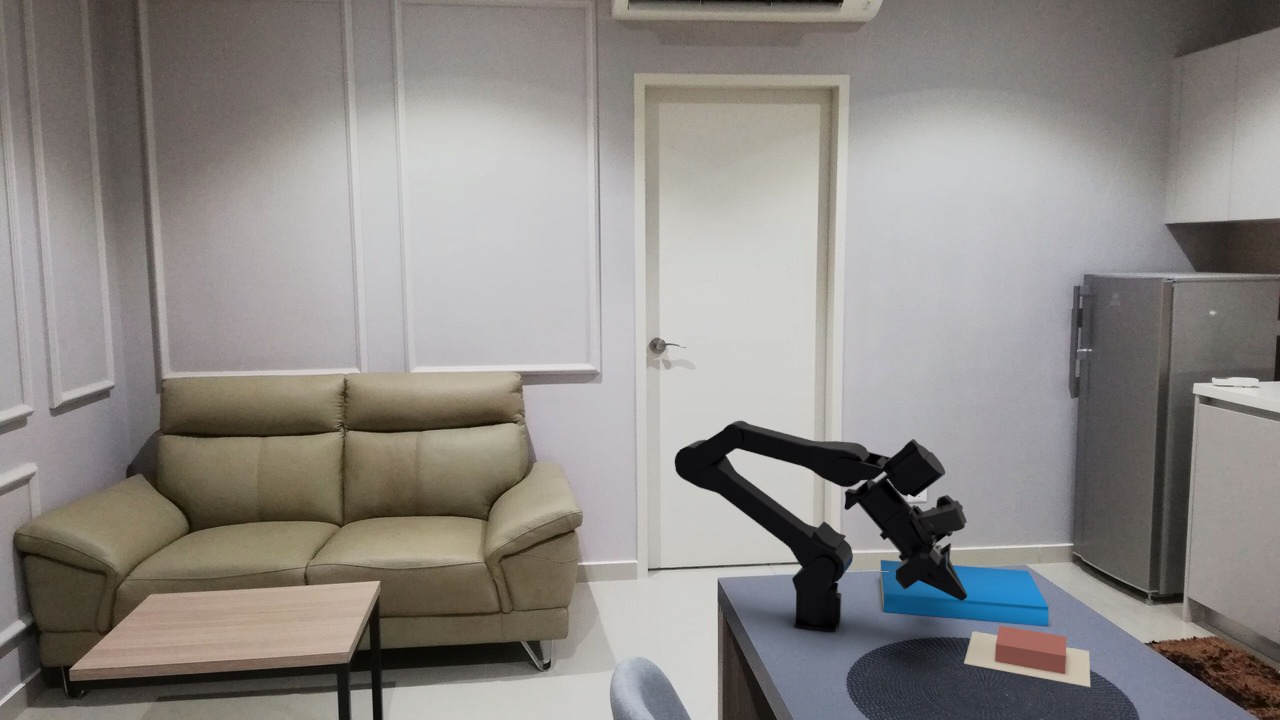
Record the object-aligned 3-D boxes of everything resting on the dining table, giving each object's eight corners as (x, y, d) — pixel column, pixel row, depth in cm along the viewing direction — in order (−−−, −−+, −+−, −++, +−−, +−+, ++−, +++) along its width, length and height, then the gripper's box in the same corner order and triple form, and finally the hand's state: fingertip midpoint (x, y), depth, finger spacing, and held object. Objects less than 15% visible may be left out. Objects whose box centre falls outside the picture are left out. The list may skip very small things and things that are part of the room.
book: (879, 559, 160) (1028, 568, 155) (878, 583, 161) (1027, 592, 155) (883, 595, 144) (1050, 605, 138) (883, 620, 144) (1049, 632, 139)
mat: (963, 666, 126) (963, 663, 126) (972, 634, 137) (972, 631, 137) (1090, 690, 119) (1090, 686, 119) (1088, 654, 130) (1089, 651, 130)
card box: (995, 643, 127) (1065, 656, 123) (999, 625, 133) (1066, 636, 129) (995, 661, 127) (1064, 674, 123) (998, 642, 133) (1065, 653, 129)
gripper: (924, 498, 123) (1004, 589, 120) (942, 469, 140) (1013, 548, 136) (864, 544, 127) (939, 633, 124) (888, 510, 144) (955, 588, 141)
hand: (964, 598), depth 131 cm, fingers closed
